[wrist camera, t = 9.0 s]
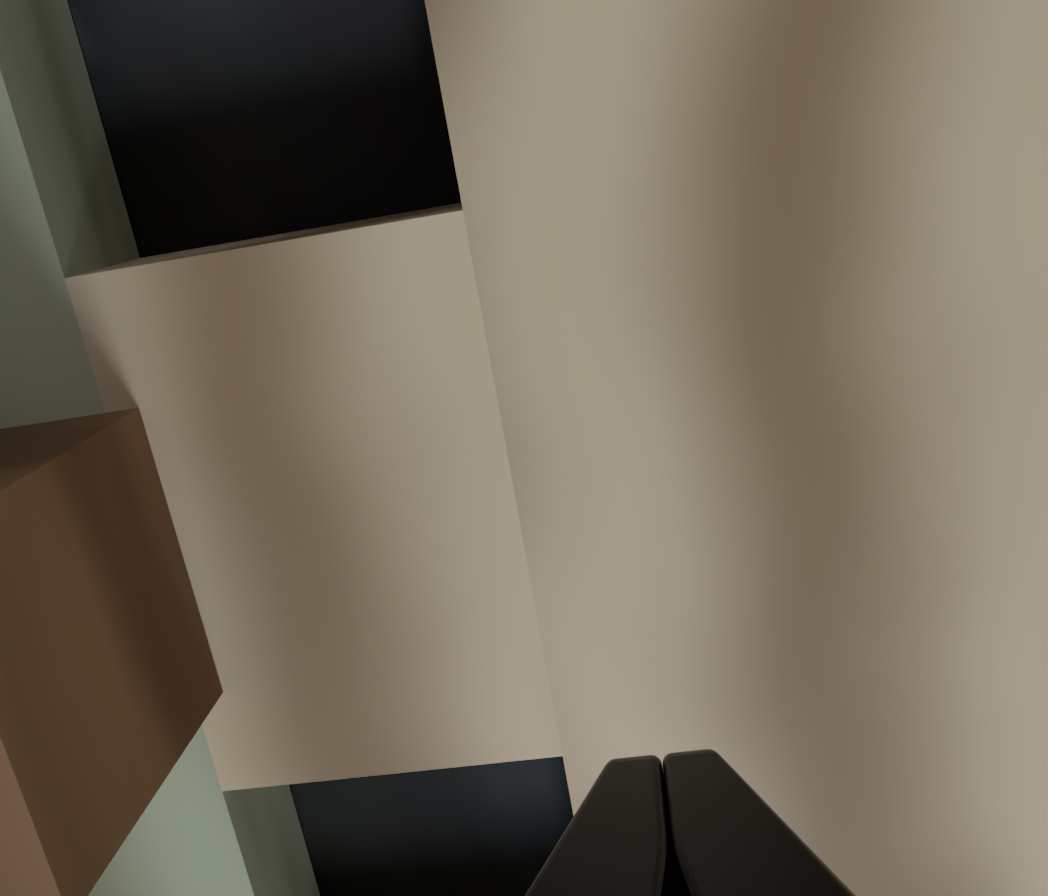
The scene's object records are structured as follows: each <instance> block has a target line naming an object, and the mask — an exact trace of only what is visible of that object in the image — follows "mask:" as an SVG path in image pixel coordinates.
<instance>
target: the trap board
mask: <svg viewBox="0 0 1048 896" xmlns="http://www.w3.org/2000/svg"><path fill="white" fill-rule="evenodd" d="M424 1H425V6H426V12H427V17H428V23H429V28H430V33H431V39H432V44H433V50H434V55H435V61H436V66H437V72H438V77H439V83H440V88H441V94H442V99H443V105H444V110H445V116H446V121H447V126H448V132H449V137H450V143H451V148H452V154H453V159H454V165H455V170H456V176H457V181H458V187H459V192H460V198H461V203H457V204H451V205H445V206H439V207H434V208H428V209H422V210H416V211H410V212H404V213H399V214H393V215H387V216H381V217H375V218H370V219H364V220H358V221H352V222H346V223H340V224H335V225H329V226H323V227H317V228H311V229H306V230H300V231H294V232H288V233H282V234H276V235H271V236H265V237H259V238H253V239H247V240H242V241H236V242H230V243H224V244H218V245H212V246H207V247H201V248H195V249H189V250H183V251H177V252H172V253H166V254H160V255H154V256H148V257H143V258H140V256H139V253H138V249H137V246H136V242H135V239H134V235H133V232H132V228H131V224H130V221H129V217H128V214H127V210H126V207H125V203H124V200H123V196H122V193H121V189H120V186H119V182H118V178H117V175H116V171H115V168H114V164H113V161H112V157H111V154H110V150H109V147H108V143H107V140H106V136H105V132H104V129H103V125H102V122H101V118H100V115H99V111H98V108H97V104H96V101H95V97H94V94H93V90H92V87H91V83H90V79H89V76H88V72H87V69H86V65H85V62H84V58H83V55H82V51H81V48H80V44H79V41H78V37H77V33H76V30H75V26H74V23H73V19H72V16H71V12H70V9H69V5H68V2H67V0H0V429H4V428H10V427H17V426H24V425H30V424H37V423H43V422H50V421H56V420H63V419H69V418H76V417H82V416H89V415H95V414H102V413H109V412H115V411H122V410H128V409H135V408H139V410H140V413H141V417H142V420H143V423H144V427H145V430H146V433H147V437H148V440H149V443H150V447H151V450H152V454H153V457H154V460H155V464H156V467H157V470H158V474H159V477H160V481H161V484H162V487H163V491H164V494H165V497H166V501H167V504H168V508H169V511H170V514H171V518H172V521H173V524H174V528H175V531H176V535H177V538H178V541H179V545H180V548H181V551H182V555H183V558H184V562H185V565H186V568H187V572H188V575H189V578H190V582H191V585H192V588H193V592H194V595H195V599H196V602H197V605H198V609H199V612H200V615H201V619H202V622H203V626H204V629H205V632H206V636H207V639H208V642H209V646H210V649H211V653H212V656H213V659H214V663H215V666H216V669H217V673H218V676H219V680H220V683H221V686H222V690H223V693H222V695H221V696H220V698H219V699H218V701H217V702H216V704H215V705H214V707H213V708H212V710H211V711H210V713H209V714H208V716H207V717H206V719H205V720H204V722H203V723H202V725H201V726H200V728H199V729H198V731H197V732H196V734H195V735H194V737H193V738H192V740H191V741H190V743H189V744H188V746H187V747H186V749H185V750H184V752H183V753H182V755H181V756H180V758H179V759H178V761H177V762H176V764H175V766H174V767H173V769H172V770H171V772H170V773H169V775H168V776H167V778H166V779H165V781H164V782H163V784H162V785H161V787H160V788H159V790H158V791H157V793H156V794H155V796H154V797H153V799H152V800H151V802H150V803H149V805H148V806H147V808H146V809H145V811H144V812H143V814H142V815H141V817H140V818H139V820H138V821H137V823H136V824H135V826H134V827H133V829H132V830H131V832H130V833H129V835H128V836H127V838H126V839H125V841H124V842H123V844H122V845H121V847H120V848H119V850H118V851H117V853H116V854H115V856H114V857H113V859H112V860H111V862H110V863H109V865H108V866H107V868H106V869H105V871H104V872H103V874H102V875H101V877H100V878H99V880H98V881H97V883H96V884H95V886H94V887H93V889H92V890H91V892H90V893H89V895H88V896H320V893H319V889H318V886H317V882H316V879H315V875H314V872H313V868H312V865H311V861H310V857H309V854H308V850H307V847H306V843H305V840H304V836H303V833H302V829H301V826H300V822H299V819H298V815H297V811H296V808H295V804H294V801H293V797H292V794H291V790H290V787H289V784H298V783H308V782H317V781H327V780H337V779H346V778H356V777H366V776H375V775H385V774H395V773H404V772H414V771H424V770H433V769H443V768H453V767H462V766H472V765H482V764H491V763H501V762H511V761H520V760H530V759H540V758H549V757H559V756H563V761H564V767H565V772H566V777H567V783H568V788H569V794H570V799H571V805H572V810H573V816H574V815H575V813H576V812H577V810H578V809H579V807H580V805H581V804H582V802H583V800H584V799H585V797H586V796H587V794H588V792H589V791H590V789H591V787H592V786H593V784H594V783H595V781H596V779H597V778H598V776H599V775H600V773H601V771H602V770H603V768H604V766H605V765H606V764H607V763H608V762H609V761H610V760H612V759H616V758H626V757H636V756H646V755H655V756H657V757H658V758H659V759H660V760H661V763H662V767H663V759H664V757H665V756H666V755H667V754H669V753H674V752H684V751H693V750H702V749H712V750H714V751H716V752H717V753H718V754H719V755H720V756H721V757H722V758H723V759H724V760H725V761H726V762H727V763H728V764H729V765H730V766H731V767H732V768H733V769H734V770H735V771H736V772H737V773H738V774H739V775H740V776H741V778H742V779H743V780H744V781H745V782H746V783H747V784H748V785H749V786H750V787H751V788H752V789H753V790H754V791H755V792H756V793H757V794H758V795H759V796H760V797H761V798H762V799H763V800H764V801H765V802H766V803H767V804H768V805H769V806H770V807H771V809H772V810H773V811H774V812H775V813H776V814H777V815H778V816H779V817H780V818H781V819H782V820H783V821H784V822H785V823H786V824H787V825H788V826H789V827H790V828H791V829H792V830H793V831H794V832H795V833H796V834H797V835H798V836H799V837H800V839H801V840H802V841H803V842H804V843H805V844H806V845H807V846H808V847H809V848H810V849H811V850H812V851H813V852H814V853H815V854H816V855H817V856H818V857H819V858H820V859H821V860H822V861H823V862H824V863H825V864H826V865H827V866H828V867H829V869H830V870H831V871H832V872H833V873H834V874H835V875H836V876H837V877H838V878H839V879H840V880H841V881H842V882H843V883H844V884H845V885H846V886H847V887H848V888H849V889H850V890H851V891H852V892H853V893H854V894H855V895H856V896H1048V0H424Z"/></svg>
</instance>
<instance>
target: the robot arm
mask: <svg viewBox="0 0 1048 896" xmlns="http://www.w3.org/2000/svg"><path fill="white" fill-rule="evenodd" d="M525 896H856V895H855V894H854V893H853V892H852V891H851V890H850V889H849V888H848V887H847V886H846V885H845V884H844V883H843V882H842V881H841V880H840V879H839V878H838V877H837V876H836V875H835V874H834V873H833V872H832V871H831V870H830V869H829V867H828V866H827V865H826V864H825V863H824V862H823V861H822V860H821V859H820V858H819V857H818V856H817V855H816V854H815V853H814V852H813V851H812V850H811V849H810V848H809V847H808V846H807V845H806V844H805V843H804V842H803V841H802V840H801V839H800V837H799V836H798V835H797V834H796V833H795V832H794V831H793V830H792V829H791V828H790V827H789V826H788V825H787V824H786V823H785V822H784V821H783V820H782V819H781V818H780V817H779V816H778V815H777V814H776V813H775V812H774V811H773V810H772V809H771V807H770V806H769V805H768V804H767V803H766V802H765V801H764V800H763V799H762V798H761V797H760V796H759V795H758V794H757V793H756V792H755V791H754V790H753V789H752V788H751V787H750V786H749V785H748V784H747V783H746V782H745V781H744V780H743V779H742V778H741V776H740V775H739V774H738V773H737V772H736V771H735V770H734V769H733V768H732V767H731V766H730V765H729V764H728V763H727V762H726V761H725V760H724V759H723V758H722V757H721V756H720V755H719V754H718V753H717V752H716V751H714V750H712V749H702V750H693V751H684V752H674V753H669V754H667V755H666V756H665V757H664V759H663V767H662V763H661V760H660V759H659V758H658V757H657V756H655V755H646V756H636V757H626V758H616V759H612V760H610V761H609V762H608V763H607V764H606V765H605V766H604V768H603V770H602V771H601V773H600V775H599V776H598V778H597V779H596V781H595V783H594V784H593V786H592V787H591V789H590V791H589V792H588V794H587V796H586V797H585V799H584V800H583V802H582V804H581V805H580V807H579V809H578V810H577V812H576V813H575V815H574V817H573V818H572V820H571V821H570V823H569V825H568V826H567V828H566V830H565V831H564V833H563V834H562V836H561V838H560V839H559V841H558V843H557V844H556V846H555V847H554V849H553V851H552V852H551V854H550V855H549V857H548V859H547V860H546V862H545V864H544V865H543V867H542V868H541V870H540V872H539V873H538V875H537V876H536V878H535V880H534V881H533V883H532V885H531V886H530V888H529V889H528V891H527V893H526V894H525Z"/></svg>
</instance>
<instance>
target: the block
mask: <svg viewBox="0 0 1048 896" xmlns="http://www.w3.org/2000/svg"><path fill="white" fill-rule="evenodd" d="M222 693H223V690H222V686H221V683H220V680H219V676H218V673H217V669H216V666H215V663H214V659H213V656H212V653H211V649H210V646H209V642H208V639H207V636H206V632H205V629H204V626H203V622H202V619H201V615H200V612H199V609H198V605H197V602H196V599H195V595H194V592H193V588H192V585H191V582H190V578H189V575H188V572H187V568H186V565H185V562H184V558H183V555H182V551H181V548H180V545H179V541H178V538H177V535H176V531H175V528H174V524H173V521H172V518H171V514H170V511H169V508H168V504H167V501H166V497H165V494H164V491H163V487H162V484H161V481H160V477H159V474H158V470H157V467H156V464H155V460H154V457H153V454H152V450H151V447H150V443H149V440H148V437H147V433H146V430H145V427H144V423H143V420H142V417H141V413H140V410H139V408H135V409H128V410H122V411H115V412H109V413H102V414H95V415H89V416H82V417H76V418H69V419H63V420H56V421H50V422H43V423H37V424H30V425H24V426H17V427H10V428H4V429H0V896H88V895H89V893H90V892H91V890H92V889H93V887H94V886H95V884H96V883H97V881H98V880H99V878H100V877H101V875H102V874H103V872H104V871H105V869H106V868H107V866H108V865H109V863H110V862H111V860H112V859H113V857H114V856H115V854H116V853H117V851H118V850H119V848H120V847H121V845H122V844H123V842H124V841H125V839H126V838H127V836H128V835H129V833H130V832H131V830H132V829H133V827H134V826H135V824H136V823H137V821H138V820H139V818H140V817H141V815H142V814H143V812H144V811H145V809H146V808H147V806H148V805H149V803H150V802H151V800H152V799H153V797H154V796H155V794H156V793H157V791H158V790H159V788H160V787H161V785H162V784H163V782H164V781H165V779H166V778H167V776H168V775H169V773H170V772H171V770H172V769H173V767H174V766H175V764H176V762H177V761H178V759H179V758H180V756H181V755H182V753H183V752H184V750H185V749H186V747H187V746H188V744H189V743H190V741H191V740H192V738H193V737H194V735H195V734H196V732H197V731H198V729H199V728H200V726H201V725H202V723H203V722H204V720H205V719H206V717H207V716H208V714H209V713H210V711H211V710H212V708H213V707H214V705H215V704H216V702H217V701H218V699H219V698H220V696H221V695H222Z"/></svg>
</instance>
